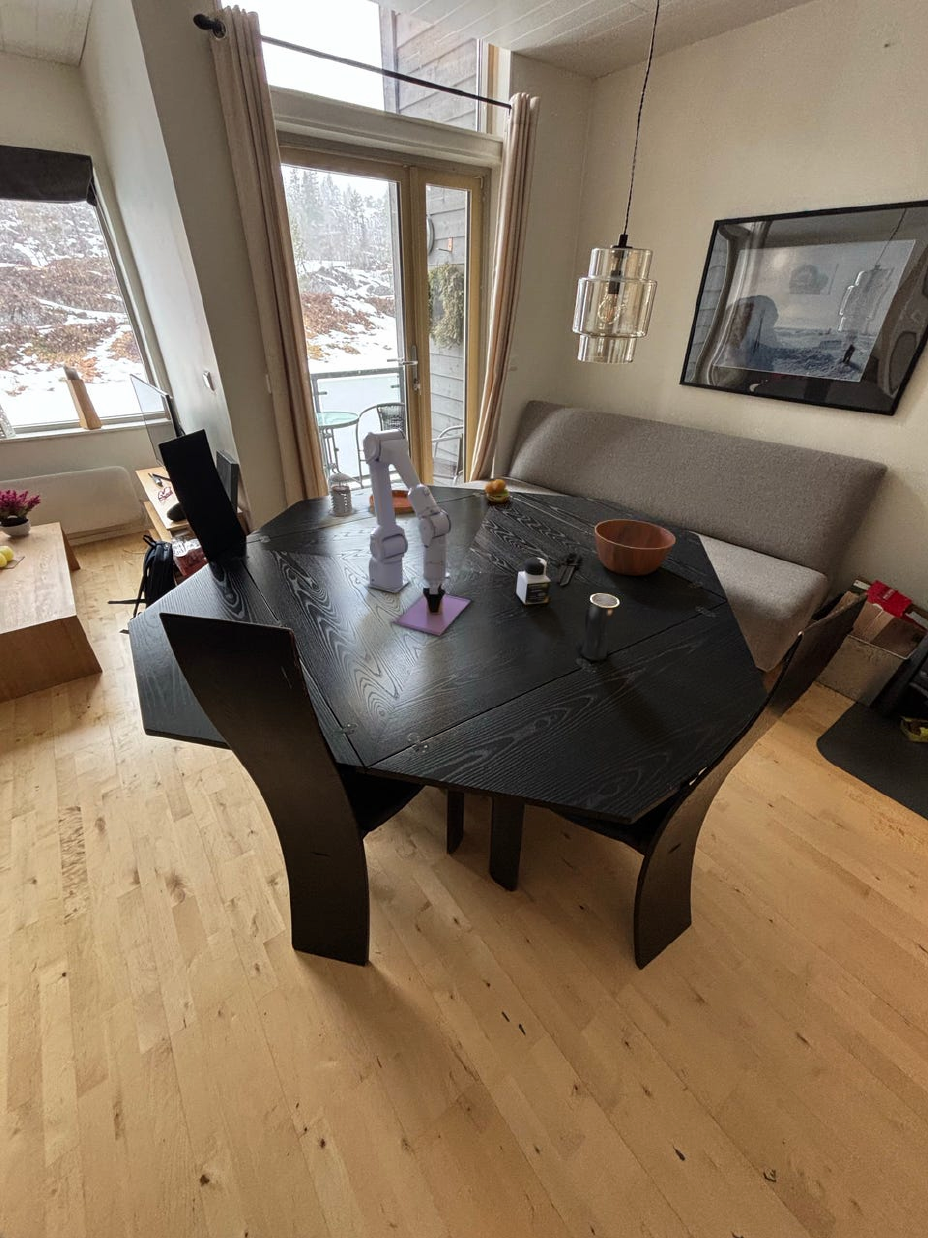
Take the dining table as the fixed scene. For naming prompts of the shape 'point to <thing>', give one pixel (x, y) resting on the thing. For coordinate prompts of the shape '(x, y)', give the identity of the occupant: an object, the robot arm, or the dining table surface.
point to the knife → (570, 568)
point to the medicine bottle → (533, 582)
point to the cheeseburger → (497, 491)
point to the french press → (336, 492)
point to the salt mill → (439, 607)
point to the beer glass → (599, 625)
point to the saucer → (398, 501)
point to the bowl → (632, 546)
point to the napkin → (433, 623)
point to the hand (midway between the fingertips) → (434, 604)
